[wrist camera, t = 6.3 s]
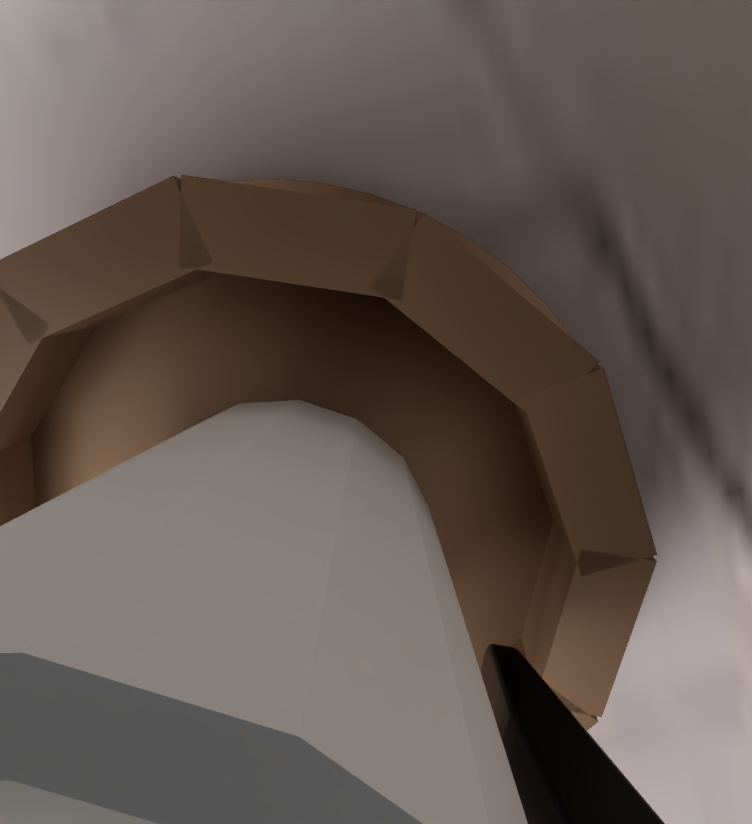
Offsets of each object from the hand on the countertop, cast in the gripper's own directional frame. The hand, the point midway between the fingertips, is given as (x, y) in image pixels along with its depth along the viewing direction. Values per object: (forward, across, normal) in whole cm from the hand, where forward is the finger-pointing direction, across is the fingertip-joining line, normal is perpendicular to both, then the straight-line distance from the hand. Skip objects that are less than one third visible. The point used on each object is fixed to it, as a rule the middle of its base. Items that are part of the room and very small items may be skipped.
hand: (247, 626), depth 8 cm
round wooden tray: (+3, 0, 0) cm, 3 cm away
